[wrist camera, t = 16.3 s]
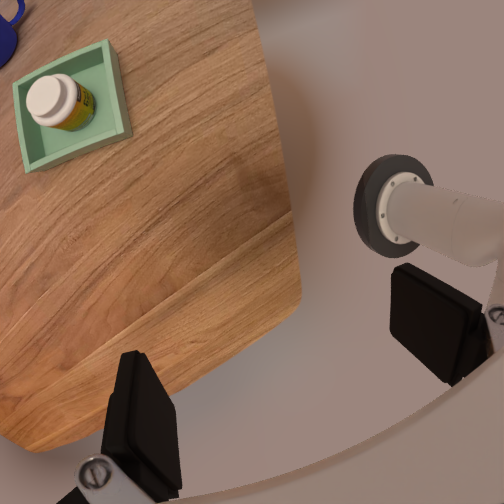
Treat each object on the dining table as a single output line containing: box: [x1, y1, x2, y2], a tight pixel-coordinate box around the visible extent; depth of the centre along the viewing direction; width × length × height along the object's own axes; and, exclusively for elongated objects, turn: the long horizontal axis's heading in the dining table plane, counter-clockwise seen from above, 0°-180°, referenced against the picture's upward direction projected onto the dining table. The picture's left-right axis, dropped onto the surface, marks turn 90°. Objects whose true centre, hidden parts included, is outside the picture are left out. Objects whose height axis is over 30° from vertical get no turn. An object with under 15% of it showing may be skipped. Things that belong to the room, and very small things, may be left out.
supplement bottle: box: [26, 74, 96, 132], centre depth 23 cm, size 6×6×10 cm
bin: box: [13, 39, 133, 173], centre depth 26 cm, size 13×12×6 cm
